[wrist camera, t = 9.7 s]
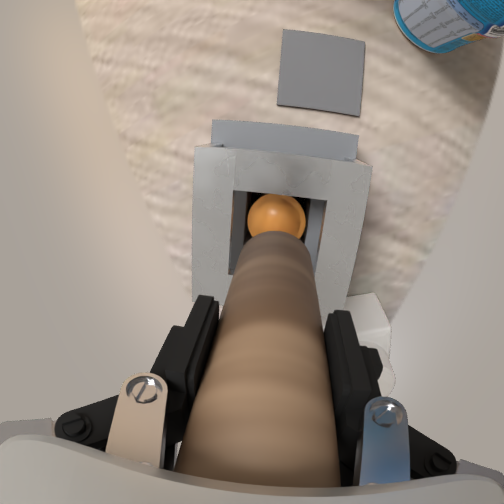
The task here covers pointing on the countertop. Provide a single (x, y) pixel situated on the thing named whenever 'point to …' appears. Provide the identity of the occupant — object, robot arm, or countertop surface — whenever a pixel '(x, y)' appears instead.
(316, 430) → the brown rod
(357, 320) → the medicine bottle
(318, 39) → the pad
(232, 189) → the frame
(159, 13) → the countertop surface
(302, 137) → the box
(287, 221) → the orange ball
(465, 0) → the beverage bottle
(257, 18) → the countertop surface
